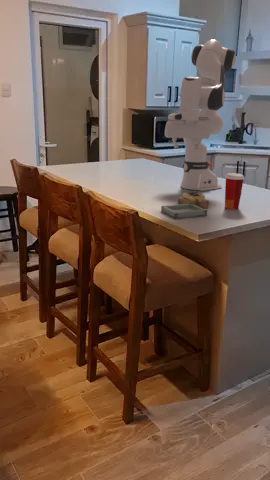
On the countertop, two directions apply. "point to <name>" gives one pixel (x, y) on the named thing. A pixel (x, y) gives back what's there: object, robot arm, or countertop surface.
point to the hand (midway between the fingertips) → (186, 148)
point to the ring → (194, 197)
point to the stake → (192, 192)
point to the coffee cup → (233, 190)
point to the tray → (183, 211)
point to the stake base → (200, 204)
